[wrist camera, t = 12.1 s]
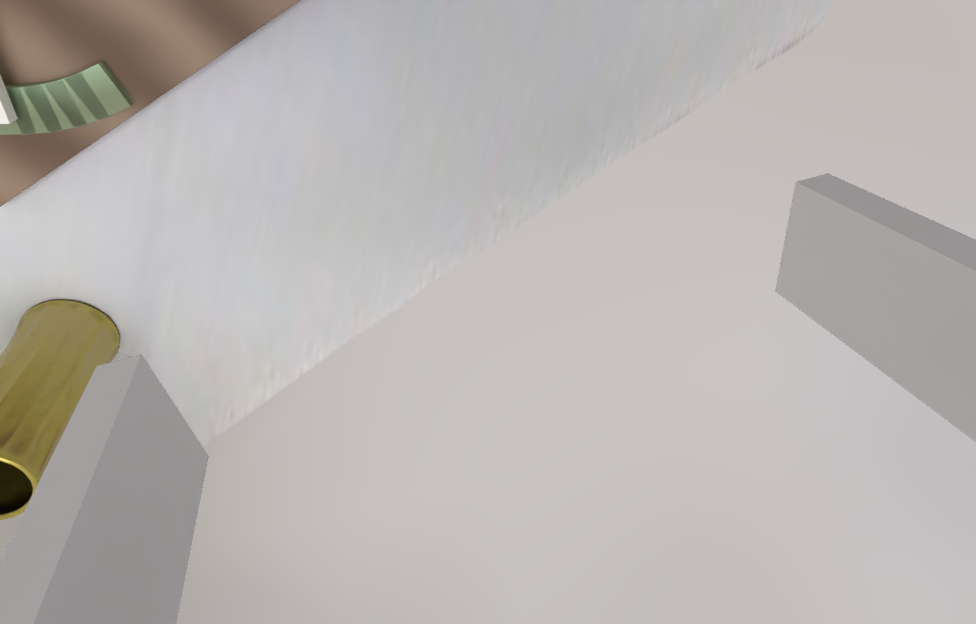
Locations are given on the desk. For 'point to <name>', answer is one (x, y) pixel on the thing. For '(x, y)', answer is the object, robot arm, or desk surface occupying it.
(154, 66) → the brown flat square board
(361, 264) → the desk surface
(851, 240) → the robot arm
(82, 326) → the vase
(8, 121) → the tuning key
